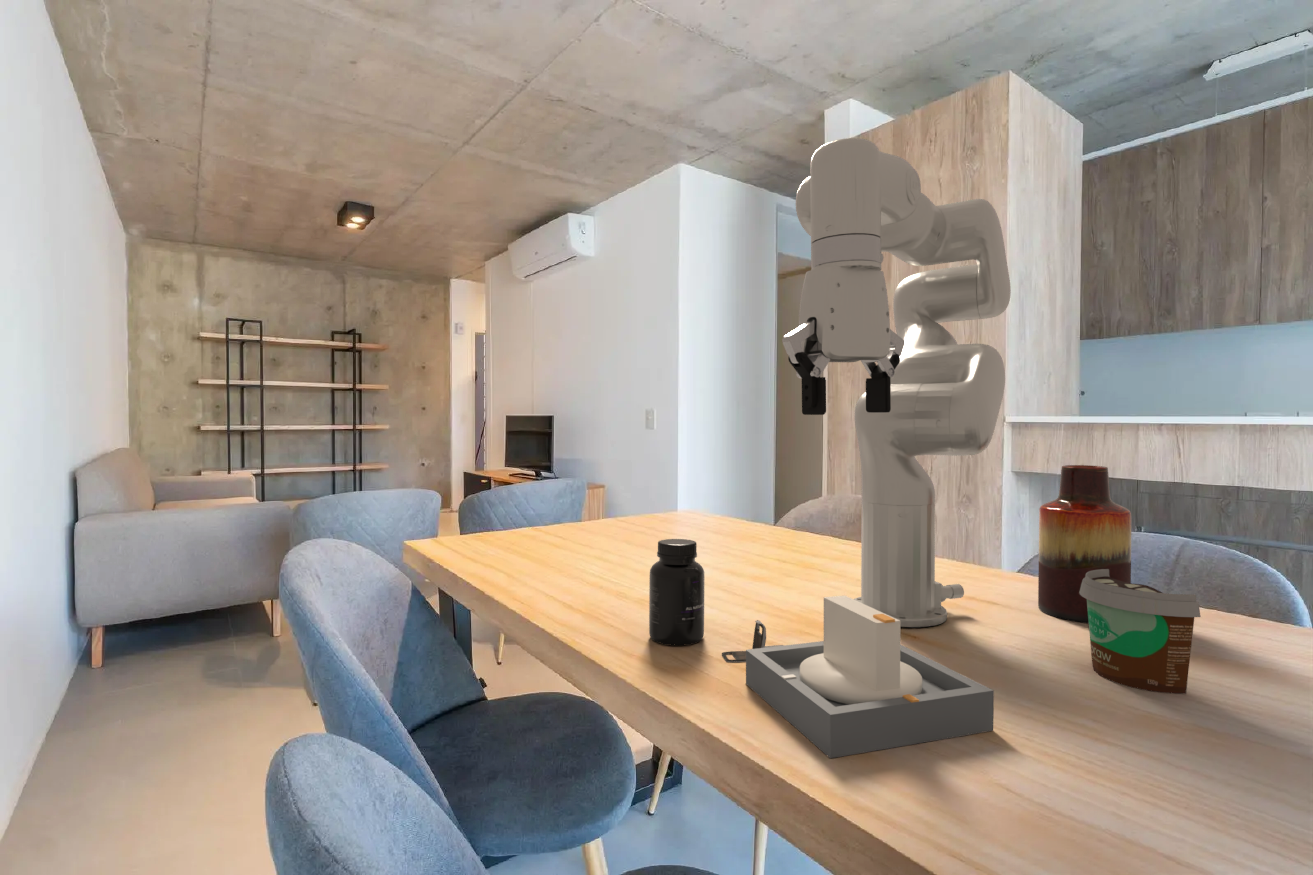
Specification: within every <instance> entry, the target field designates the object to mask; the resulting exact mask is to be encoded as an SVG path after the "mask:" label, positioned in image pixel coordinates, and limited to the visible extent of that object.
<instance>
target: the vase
mask: <svg viewBox="0 0 1313 875" xmlns="http://www.w3.org/2000/svg"><path fill="white" fill-rule="evenodd" d="M1059 480H1060V481H1059V490H1058V491H1059V493H1058V496H1057V498H1055V499H1054V500H1051V501H1047V502H1045V503H1043V504H1041V506H1040V507H1039V508H1038V510H1039V512H1038V582H1037V583H1038V587H1037V588H1038V590H1037V591H1038V592H1037V593H1038V594H1037V595H1038V599H1037V604H1038V605H1037V606H1038V609H1039V610H1040V612H1042V613H1044V614H1046V615H1049V616H1052V617H1054V618H1057V619H1062V620H1065V621H1066V620H1067V621H1072V622H1077V623H1083V624H1089V621H1088V609H1087V599H1086V598H1084V597H1082V596H1081V595H1080V593H1079V592H1080V588H1081V584H1082V580H1083V578H1085V576H1086V573H1087V572H1089V571H1093V570H1100V569H1109V577H1110V578H1113V579H1116V580H1119V581H1122V582H1126V583H1132V581H1131V580H1132V513H1131V512H1132V511H1130V510H1129V509H1128V508H1127V507H1124V506H1122V505H1120V504H1119V503H1116V502H1114V501H1113V500H1112V498H1111V492H1110V477H1109V467H1108V466H1103V465H1102V466H1101V465H1083V464H1073V465H1072V464H1071V465H1070V464H1067V465H1062V466H1061V470H1060V479H1059Z"/></svg>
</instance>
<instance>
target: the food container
mask: <svg viewBox="0 0 1313 875" xmlns="http://www.w3.org/2000/svg"><path fill="white" fill-rule="evenodd" d="M1079 593H1080V595H1081V596H1082V597H1084V598H1086V599H1087V609H1088V621H1089V623H1088V629H1089V630H1088V631H1089V644H1090V653H1091V656H1090V657H1091V665H1092V670H1093V671H1094V673H1096V674H1097V675H1098V676H1099V677H1102V678H1103V679H1106V680H1108V681H1110V682H1113V683H1116V684H1119V685H1122V686H1124V687H1129V688H1133V689H1137V690H1138V689H1139V690H1144V691H1147V692H1148V691H1149V692H1154V693H1163V694H1175V695H1177V694H1187V690H1188V689H1187V688H1188V680H1189V671H1190V669H1189V668H1190V659H1191V652H1192V642H1193V636H1194V634H1193V633H1194V625H1195V624H1194V623H1195V618H1202V617H1201V611H1200V604H1199V601H1197V594H1196V593H1195V594H1192V593H1191V594H1186V593H1185V594H1180V593H1178V594H1177V593H1164V592H1163V591H1160V590H1158V589H1156V588H1154V587H1152V586H1150V585H1145V584H1141V583H1140V584H1139V583H1132V582H1131V583H1126V582H1122V581H1119V580H1116V579H1113V578H1110V577H1109V569H1100V570H1093V571H1089V572H1087V573H1086V576H1085V578H1083V580H1082V584H1081V588H1080V592H1079Z"/></svg>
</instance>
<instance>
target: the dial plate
mask: <svg viewBox="0 0 1313 875" xmlns="http://www.w3.org/2000/svg"><path fill="white" fill-rule="evenodd" d="M783 645H784V646H775V647H766V648H757V649H752V648H751V649H750V648H749V649H746V650H745V651H746V662H745V684H746V685H747V686H748V688H750V689H751V690H752V691H753V692H754V693H756V694H757V696H759V697H760V698H761V699H762V700H764V701H765V702H766V703H767V704H768V705H769V706H770V707H771V708H773V710H775V711H776V712H777V713H778V714H779V715H781V716H782V718H784V719H785V720H786V721H787V722H788V723H790V724H791V725H792V726H793V727H794V728H795V729H796V730H798V732H799V733H801V734H802V735H803V736H804V737H806V738H807V739H808V740H809V741H810V742H811V743H812V744H813V745H815V747H817V748H818V749H819V750H820V751H821V752H822V753H823V754H824V755H826V756H827V757H828V758H829V759H835V758H840V757H846V756H852V755H853V756H854V755H857V754H864V753H871V752H876V751H882V750H888V749H894V748H899V747H905V746H911V745H916V744H924V743H928V742H929V743H930V742H934V741H941V740H945V739H951V738H958V737H963V736H969V735H975V734H981V733H987V732H991V731H994V709H995V708H994V707H995V706H994V704H995V703H994V700H995V698H994V697H995V693H994V691H995V690H994V689H991V688H989V687H988V686H986V685H983V684H982V683H980V682H978V681H975V680H973V679H971V678H969V677H968V676H966V675H963V674H961V673H960V672H957V671H955V670H953V669H951V668H949V667H947V666H945V665H943V664H941V663H939V662H937V661H935V660H933V659H931V658H929V657H927V656H925V655H923V654H921V653H919V652H917V651H916V650H913V649H911V648H908V647H906V645H905V646H904V645H902V644H901V643H900V661H901V662H903V663H906V664H908V665H910V666H911V667H913V668H914V669H916V670H917V671H918V672H919V673H920V675H921V676H922V693H921V694H920V695H913V696H912V695H910V694H907V695H903V697H899V698H892V699H885V700H879V701H872V702H865V703H858V704H845V703H840V702H836V701H833V700H829V699H826V698H824V697H821V696H820V695H819V694H817V693H816V692H815V691H813V690H812V689H811V688H809V687H808V686H807V685H805V684H804V683H803V682H801V681H800V664H801V663H802V662H803V661H804V660H805V659H807V658H809V657H811V656H814V655H817V654H822V653H824V640H821V641H820V640H819V641H814V642H813V641H812V642H805V643H804V642H802V643H796V644H795V643H794V644H793V643H792V644H786V645H785V644H783Z"/></svg>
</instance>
